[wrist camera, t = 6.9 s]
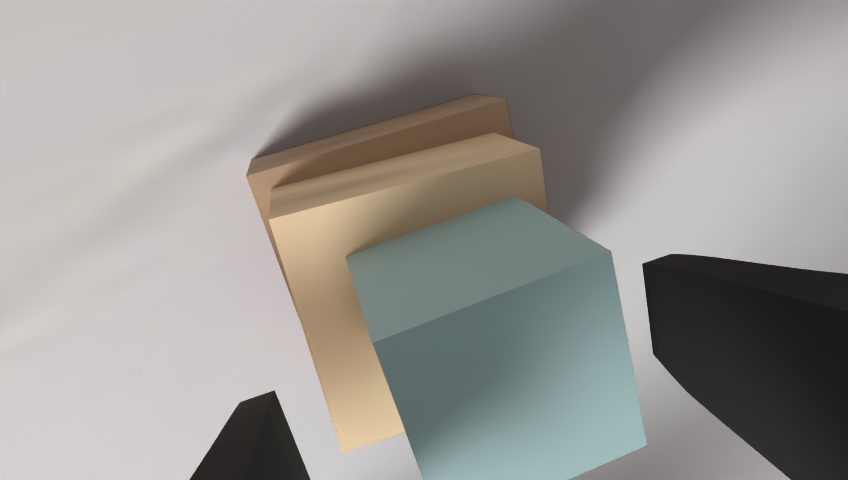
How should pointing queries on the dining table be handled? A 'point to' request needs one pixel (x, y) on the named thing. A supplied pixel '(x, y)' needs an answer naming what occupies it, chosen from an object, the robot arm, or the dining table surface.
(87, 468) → the dining table surface
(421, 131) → the tower base
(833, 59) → the dining table surface
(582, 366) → the teal cube
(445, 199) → the tower top
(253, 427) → the robot arm
